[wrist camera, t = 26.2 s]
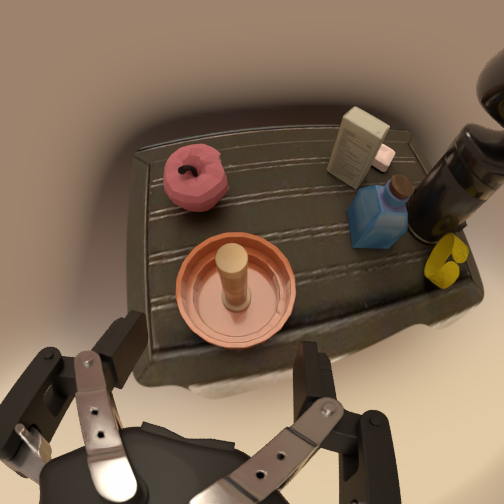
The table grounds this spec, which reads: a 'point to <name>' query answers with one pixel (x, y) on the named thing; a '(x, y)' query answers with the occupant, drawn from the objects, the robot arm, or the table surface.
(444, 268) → the bracelet
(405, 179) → the blue potion bottle
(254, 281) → the bowl
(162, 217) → the table surface
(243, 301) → the stick
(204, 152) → the apple
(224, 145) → the table surface
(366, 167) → the cosmetic box
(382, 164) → the soap bar
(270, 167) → the table surface
